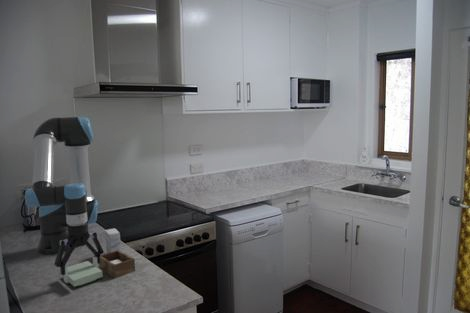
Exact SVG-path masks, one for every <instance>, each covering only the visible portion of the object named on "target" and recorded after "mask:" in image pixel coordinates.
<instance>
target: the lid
mask: <svg viewBox="0 0 470 313" xmlns="http://www.w3.org/2000/svg"><path fill="white" fill-rule="evenodd" d="M67 269H68V282H69V284H70V285H72V287H77V286H78V287H80V286H84V285H86V284H89V283H91V282H94V281H97V279H101V278H103V277H104V275H103V270H102V269H100V268H99V267H98V268H97V267H96V266H94V265H93V263H91V262H90V261H89V260H87V261H84V262H80V263H77V264H74V265H69V266H67ZM59 272H60V276H61V277H62V278H63V279H64V275H62V274H61V271H60V270H59Z"/></svg>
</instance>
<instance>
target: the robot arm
mask: <svg viewBox="0 0 470 313" xmlns="http://www.w3.org/2000/svg"><path fill="white" fill-rule="evenodd" d="M32 141H33V145H34V146H35V147H34V158H33V159H34V160H33V169H32V170H33V171H32V172H33V173H32V184H31V187H30V188H26V189H25V191H24V202H25V205H26V206H27V207H28V208H38V218H39V228H40V229H39V230H40V231H39V232H40V238H39V241H38V245H37V251H38V254H41V255H54V254H56V257H55V261H54V265H53V266H56V268H60V269H59V272H60V271H61V273H60V275H61V274H62V275H64V278H63V282H64V283H66V284H68V283H69V282H68V269H67V267H68V266H67V263H68V261H69V259H70V257H71V255H72V253H73V252H74V251H75V249H76V248H77V249H78V248H80V247H84V246H86V247H87V248H88V250H89V251H90V252H91V253H92V254H93V255H92V264H93V265H94V266H96V267H97V268H99V263H100V260H99V257H100V256H101V255H104V254H105V252H104V249H103V247H102V245H101V243H100V241H99V239H98V234H97V232H95V231H91V232H89V225H92V224H95V223H96V222H97V218H98V205H99V202H98V200H97V199H95V196H94V195H93V194H92V191H91V190H92V189H91V178H90V176H91V175H90V164H89V150H88V148H89V147H90V146H91V142H93V141H94V135H93V131H92V125H91V122H90V119H89V118H88V117H84V116H71V117H51V118H48V119H47V120H45V121H43V122H42V123H41V124H40V125H39V126H38V127H37V128H36V130H35V132H34V135H33V140H32ZM58 143H64V148H65V147H66V149H67V150H68V160H69V172H70V183H69V184H66V185H56V186H55V185H54V169H55V147H56V146H57V144H58ZM89 238H91V240H92V242H93V243H94V245H95V247H96V249H95V247H94V246H92V244H91V243H90V242H89V241H88V240H89ZM69 284H70V283H69Z"/></svg>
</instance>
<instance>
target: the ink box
mask: <svg viewBox="0 0 470 313" xmlns="http://www.w3.org/2000/svg"><path fill="white" fill-rule="evenodd" d="M104 233H105V244H106V245H105V246H106V254H107V253H111V252H114V251H117V250H119V251H121V252H123V251H122V245H121V242H122V241H121V233H120V232H119V231H118V230H117V229H116V228H114V227H113V228H109V229H105V230H104Z"/></svg>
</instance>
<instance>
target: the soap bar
mask: <svg viewBox="0 0 470 313" xmlns="http://www.w3.org/2000/svg"><path fill="white" fill-rule="evenodd" d="M110 262H112V263H113V264H118V263H121V262H122V261H120V260H118V259H117V260H113V261H110Z"/></svg>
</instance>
